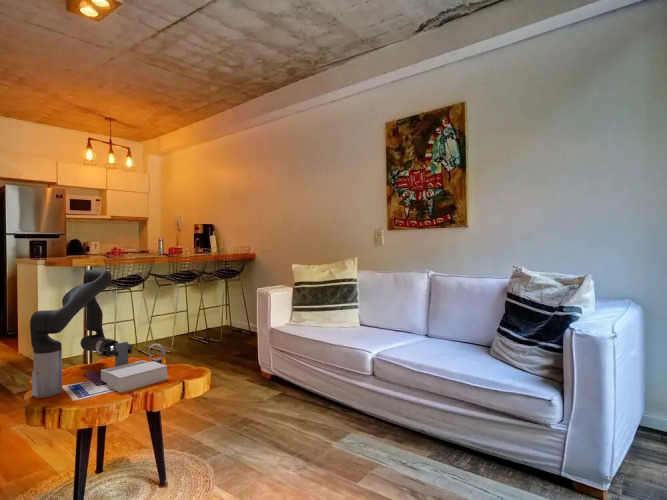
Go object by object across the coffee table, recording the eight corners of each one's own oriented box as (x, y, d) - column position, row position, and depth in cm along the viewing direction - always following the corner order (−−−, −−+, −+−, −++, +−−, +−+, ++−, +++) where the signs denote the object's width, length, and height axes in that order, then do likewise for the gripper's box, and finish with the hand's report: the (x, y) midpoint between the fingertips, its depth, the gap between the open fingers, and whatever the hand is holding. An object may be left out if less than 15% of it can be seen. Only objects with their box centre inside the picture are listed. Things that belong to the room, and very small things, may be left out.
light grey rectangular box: (120, 392, 162) (120, 377, 162) (107, 386, 170) (106, 372, 170) (167, 379, 178) (167, 365, 178) (153, 374, 186) (153, 361, 186)
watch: (166, 367, 196) (165, 344, 196) (147, 369, 193) (147, 346, 193) (165, 363, 202) (165, 341, 201) (147, 366, 198) (147, 343, 198)
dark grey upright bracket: (112, 385, 169) (112, 351, 168) (99, 379, 177) (98, 346, 176) (155, 374, 183) (154, 342, 183) (141, 368, 191) (140, 338, 191)
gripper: (91, 342, 186) (107, 347, 176) (123, 336, 198) (140, 341, 187) (91, 358, 187) (107, 364, 176) (123, 351, 198) (140, 357, 187)
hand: (124, 352), depth 182 cm, fingers closed on dark grey upright bracket, 5 cm apart
